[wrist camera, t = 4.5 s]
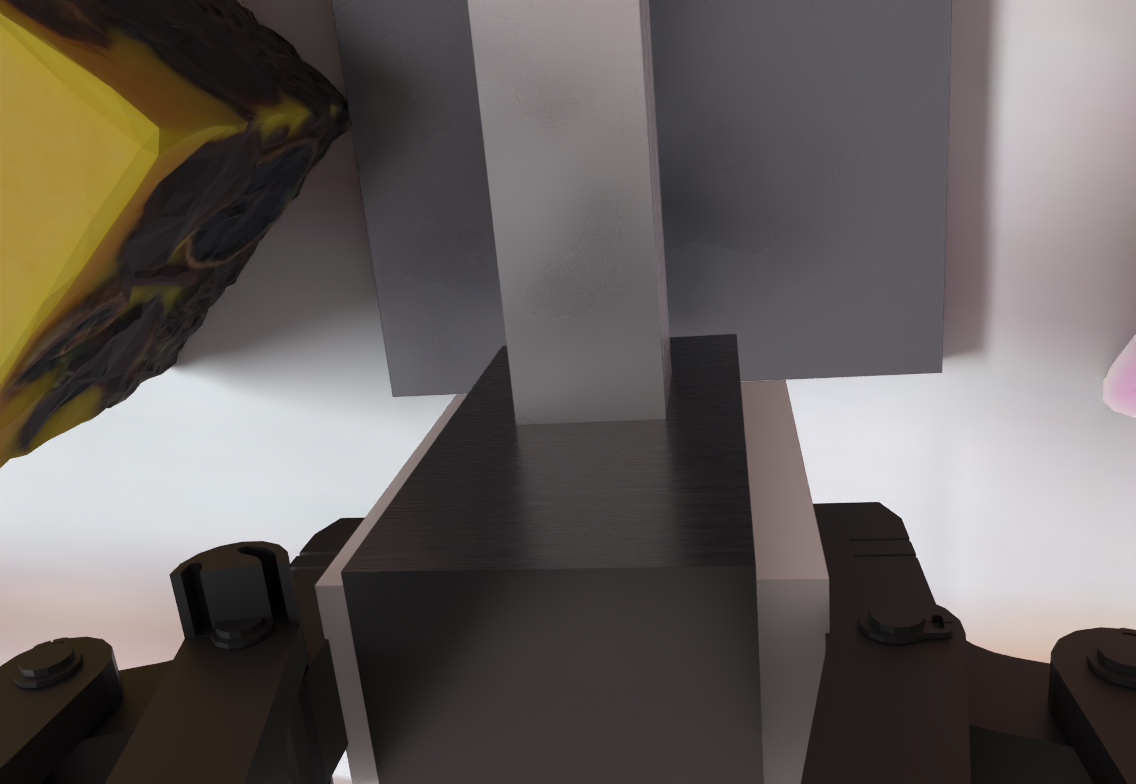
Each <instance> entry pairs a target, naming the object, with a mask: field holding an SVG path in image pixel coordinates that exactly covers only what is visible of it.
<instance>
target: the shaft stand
mask: <svg viewBox="0 0 1136 784" xmlns="http://www.w3.org/2000/svg"><path fill="white" fill-rule="evenodd" d="M332 4H333V11H334V17H335V24H336V30H337V37H338V43H339V50H340V56H341V63H342V69H343V76H344V82H345V89H346V96H347V102H348V109H349V115H350V122H351V128H352V135H353V141H354V148H355V154H356V161H357V167H358V174H359V180H360V187H361V193H362V200H363V206H364V213H365V219H366V226H367V232H368V239H369V245H370V252H371V258H372V265H373V271H374V278H375V284H376V291H377V297H378V304H379V310H380V317H381V323H382V330H383V336H384V343H385V349H386V356H387V362H388V369H389V375H390V382H391V388H392V395H393V397H401V396H423V395H446V394H468V393H469V392H470V390H471V389H472V388H473V386H474V385H475V383H476V382H477V381H478V379H479V378H480V376H481V375H482V374H483V372H484V371H485V369H486V368H487V367H488V365H489V364H490V362H491V361H492V359H493V358H494V357H495V355H496V354H497V352H498V351H499V350H500V348H501V347H502V346H507V341H506V333H505V324H504V315H503V306H502V298H501V289H500V280H499V271H498V263H497V254H496V245H495V236H494V228H493V219H492V210H491V201H490V193H489V184H488V175H487V166H486V158H485V149H484V140H483V131H482V123H481V114H480V105H479V96H478V88H477V79H476V70H475V61H474V53H473V44H472V35H471V26H470V18H469V9H468V0H332ZM951 11H952V0H649V13H650V29H651V45H652V61H653V78H654V94H655V110H656V126H657V143H658V159H659V175H660V191H661V207H662V224H663V240H664V256H665V272H666V288H667V305H668V321H669V337H685V336H705V335H724V334H737V345H738V357H739V369H740V381H763V380H786V379H808V378H831V377H854V376H876V375H899V374H922V373H942V353H943V315H944V277H945V239H946V201H947V163H948V125H949V87H950V49H951Z"/></svg>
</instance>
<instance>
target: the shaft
mask: <svg viewBox="0 0 1136 784" xmlns="http://www.w3.org/2000/svg"><path fill="white" fill-rule="evenodd" d="M468 9H469V18H470V26H471V35H472V44H473V53H474V61H475V70H476V79H477V88H478V96H479V105H480V114H481V123H482V131H483V140H484V149H485V158H486V166H487V175H488V184H489V193H490V201H491V210H492V219H493V228H494V236H495V245H496V254H497V263H498V271H499V280H500V289H501V298H502V306H503V315H504V324H505V333H506V341H507V346H502V347H501V348H500V350H499V351H498V352H497V354H496V355H495V357H494V358H493V359H492V361H491V362H490V364H489V365H488V367H487V368H486V369H485V371H484V372H483V374H482V375H481V376H480V378H479V379H478V381H477V382H476V383H475V385H474V386H473V388H472V389H471V390H470V392H469V393H468V395H467V396H466V397H465V399H464V400H463V402H462V403H461V404H460V406H459V407H458V409H457V410H456V411H455V413H454V414H453V416H452V417H451V418H450V420H449V421H448V423H447V424H446V425H445V427H444V428H443V430H442V431H441V432H440V434H439V435H438V437H437V438H436V439H435V441H434V442H433V444H432V445H431V446H430V448H429V449H428V451H427V452H426V453H425V455H424V456H423V458H422V459H421V460H420V462H419V463H418V465H417V466H416V467H415V469H414V470H413V472H412V473H411V474H410V476H409V477H408V479H407V480H406V481H405V483H404V484H403V486H402V487H401V488H400V490H399V491H398V493H397V494H396V495H395V497H394V498H393V500H392V501H391V502H390V504H389V505H388V507H387V508H386V509H385V511H384V512H383V514H382V515H381V516H380V518H379V519H378V521H377V522H376V523H375V525H374V526H373V528H372V529H371V530H370V532H369V533H368V535H367V536H366V537H365V539H364V540H363V542H362V543H361V544H360V546H359V547H358V549H357V550H356V551H355V553H354V554H353V556H352V557H351V558H350V560H349V561H348V563H347V564H346V565H345V567H344V568H343V570H342V571H341V577H342V582H343V588H344V593H345V599H346V604H347V610H348V615H349V621H350V627H351V632H352V638H353V643H354V649H355V654H356V660H357V665H358V671H359V676H360V682H361V687H362V693H363V698H364V704H365V709H366V715H367V720H368V726H369V731H370V737H371V742H372V748H373V754H374V759H375V765H376V770H377V776H378V781H379V784H764V774H763V746H762V719H761V692H760V664H759V637H758V610H757V582H756V561H755V549H754V537H753V525H752V513H751V501H750V489H749V477H748V465H747V453H746V441H745V429H744V417H743V405H742V393H741V381H740V369H739V357H738V345H737V334H724V335H705V336H685V337H669V321H668V305H667V288H666V272H665V256H664V240H663V224H662V207H661V191H660V175H659V159H658V143H657V126H656V110H655V94H654V78H653V61H652V45H651V29H650V13H649V0H468Z"/></svg>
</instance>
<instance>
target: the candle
mask: <svg viewBox="0 0 1136 784" xmlns="http://www.w3.org/2000/svg"><path fill="white" fill-rule="evenodd" d="M349 123H350V115H349V109H348V102H347V100H346V99H345V98H344V97H343V96H342V95H341V94H340V93H339V92H338V91H337V90H336V88H335V87H334V86H333V85H332V84H331V83H330V82H329V81H328V80H327V79H326V78H325V77H324V76H323V75H322V74H320V73H319V72H318V71H317V70H316V69H315V68H313V67H312V66H310V65H309V64H307V63H306V62H304V61H302V60H301V59H300V57H299V55H298V54H297V52H296V50H295V49H294V47H293V45H292V44H290V43H289V42H288V41H286V40H285V39H284V38H282V37H281V36H280V35H278V34H277V33H276V32H274V31H273V30H271V29H269V28H267V27H265V26H262V25H260V24H258V22H257V20H256V19H255V17H254V15H253V13H252V12H251V11H249V10H248V9H246V8H244V7H242V6H241V5H240V4H239V3H238V2H237V1H236V0H0V468H1V467H2V466H3V465H4V464H5V463H6V462H7V461H8V460H9V459H11V458H16V457H20V456H24V455H27V454H29V453H30V452H32V451H33V450H35V449H36V448H38V447H39V446H41V445H42V444H43V443H45V442H46V441H48V440H50V439H52V438H54V437H56V436H58V435H60V434H62V433H64V432H66V431H68V430H70V429H72V428H74V427H75V426H77V425H79V424H81V423H83V422H86V421H89V420H91V419H92V418H94V417H96V416H97V415H99V414H100V413H101V412H102V411H104V410H105V408H111V407H112V406H114V405H116V404H118V403H120V402H122V401H124V400H126V399H127V398H128V397H129V396H130V395H131V394H132V393H133V392H134V391H135V390H136V389H137V387H138V386H139V385H140V384H141V383H142V382H143V381H145V380H147V379H149V378H152V377H155V376H158V375H161V374H162V373H164V372H165V371H166V370H168V369H169V368H170V367H171V366H173V365H174V364H175V363H176V362H177V355H178V351H179V350H181V349H182V348H183V346H184V344H185V343H186V341H187V339H188V338H189V336H190V335H191V334H192V333H194V332H195V331H196V330H197V329H198V328H199V327H200V326H201V325H202V323H203V321H204V318H205V315H206V313H207V312H208V309H209V307H210V306H212V305H213V304H214V303H215V302H216V300H217V299H218V298H219V297H220V296H221V295H222V293H223V291H224V289H225V288H226V286H229V285H231V284H234V283H235V282H236V280H237V278H238V275H239V274H240V272H241V271H242V269H243V268H244V266H245V264H246V263H247V261H248V260H249V258H250V257H251V255H252V254H253V252H254V251H255V249H256V247H257V245H258V243H259V241H260V240H261V239H262V238H263V237H264V236H265V234H266V233H267V231H268V230H269V228H270V227H271V226H272V225H273V224H274V223H275V222H276V221H277V220H278V219H279V217H280V216H281V214H282V212H283V210H284V209H285V208H286V207H287V206H288V204H289V203H290V202H291V200H293V199H294V198H296V197H297V196H298V195H299V192H300V189H301V186H302V184H303V181H304V178H305V176H306V174H307V173H308V172H309V171H310V170H311V169H312V168H313V167H314V166H315V165H316V164H317V163H318V162H319V160H320V159H321V158H322V157H323V156H324V155H325V153H326V151H327V150H328V148H329V146H330V144H331V142H332V141H334V140H335V139H336V138H338V137H339V136H340V135H342V134H343V133H345V132H346V131H347V130H348V126H349Z"/></svg>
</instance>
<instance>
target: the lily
mask: <svg viewBox="0 0 1136 784" xmlns="http://www.w3.org/2000/svg"><path fill="white" fill-rule="evenodd" d="M1103 402H1104V403H1105V404H1106V405H1107V406H1108V407H1109V408H1110V409H1111V410H1113V411H1116V412H1118V413H1121V414H1124V415H1127V416H1130V417H1132V418H1135V419H1136V335H1135V336H1134V337H1133V338H1132V339H1131V340H1130V342H1129V343H1128V344H1127V346H1126V347H1125V348H1124V349H1123V351H1122V352H1121V353H1120V355H1119V356H1118V357H1117V358H1116V360H1115V361H1114V362H1113V364H1112V365H1111V367H1110V369H1109V371H1108V372H1107V374H1106V376H1105V378H1104V380H1103Z"/></svg>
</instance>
